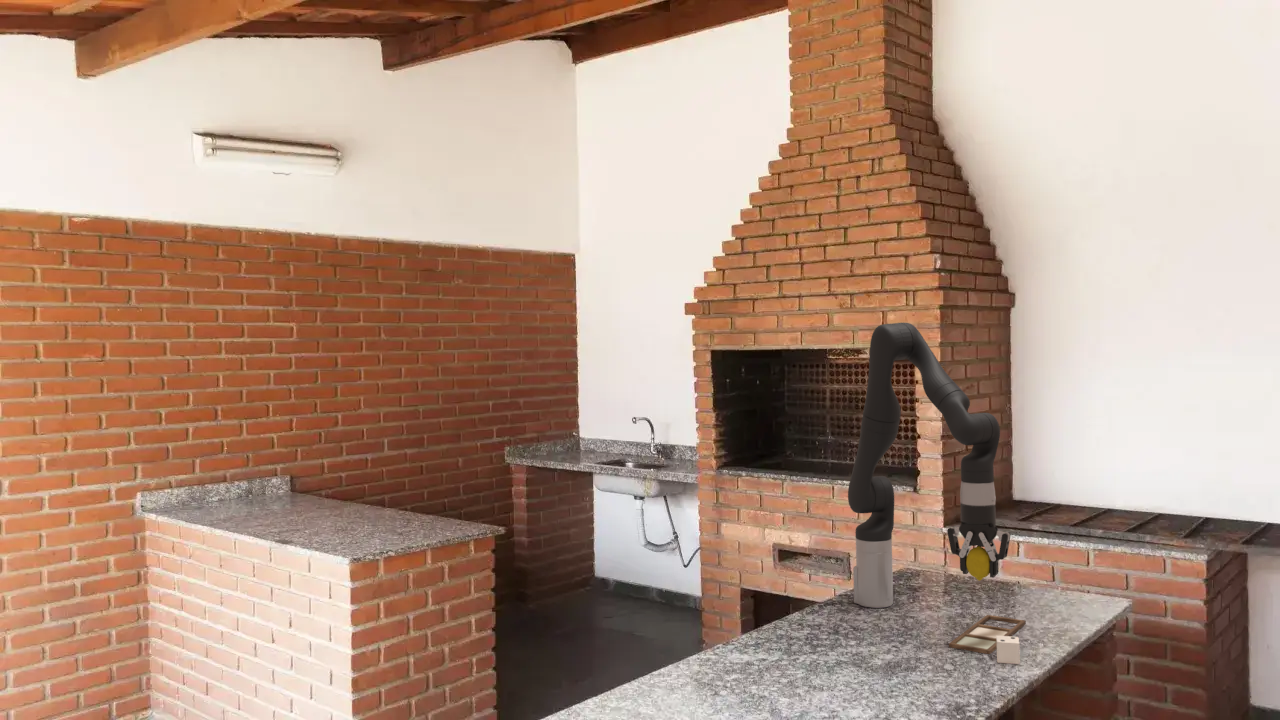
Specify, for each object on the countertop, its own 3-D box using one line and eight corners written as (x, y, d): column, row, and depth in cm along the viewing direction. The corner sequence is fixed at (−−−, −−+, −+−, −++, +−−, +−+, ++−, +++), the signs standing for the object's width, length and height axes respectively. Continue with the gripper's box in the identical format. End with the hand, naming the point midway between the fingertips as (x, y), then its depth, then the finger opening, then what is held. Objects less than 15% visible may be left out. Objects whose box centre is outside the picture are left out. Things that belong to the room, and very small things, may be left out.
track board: (948, 647, 224) (948, 643, 224) (987, 617, 244) (987, 614, 244) (989, 654, 218) (989, 650, 218) (1025, 623, 239) (1025, 620, 239)
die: (997, 662, 213) (997, 641, 213) (996, 655, 217) (996, 635, 217) (1019, 664, 211) (1019, 643, 211) (1018, 657, 216) (1018, 636, 216)
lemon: (988, 577, 228) (987, 542, 228) (995, 583, 222) (994, 548, 222) (963, 577, 228) (963, 543, 228) (970, 583, 223) (969, 548, 223)
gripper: (940, 501, 226) (942, 574, 227) (1005, 506, 217) (1006, 582, 218) (952, 496, 232) (953, 568, 233) (1015, 501, 224) (1016, 575, 224)
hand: (979, 574), depth 225 cm, fingers closed on lemon, 5 cm apart
